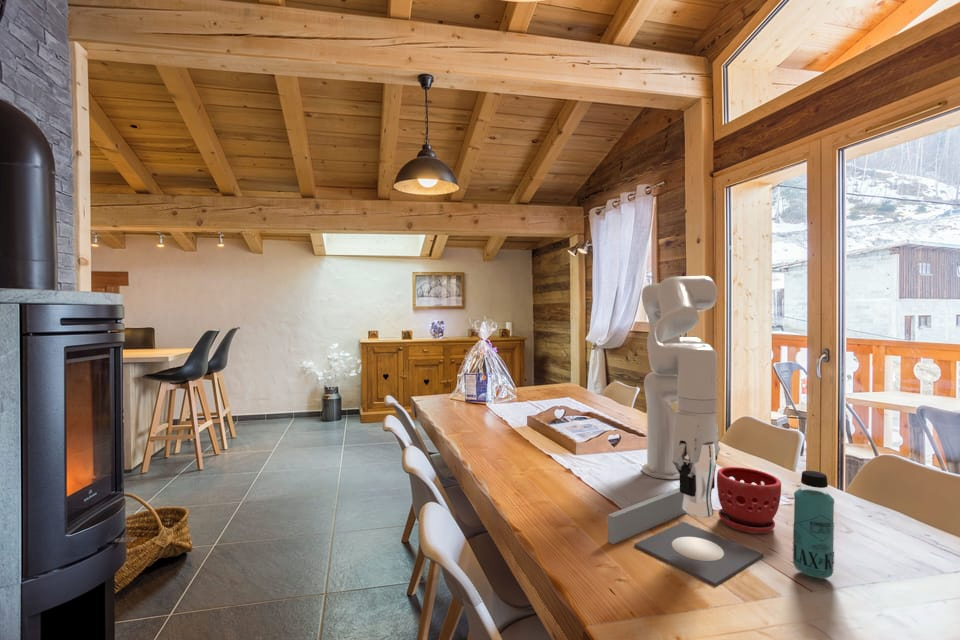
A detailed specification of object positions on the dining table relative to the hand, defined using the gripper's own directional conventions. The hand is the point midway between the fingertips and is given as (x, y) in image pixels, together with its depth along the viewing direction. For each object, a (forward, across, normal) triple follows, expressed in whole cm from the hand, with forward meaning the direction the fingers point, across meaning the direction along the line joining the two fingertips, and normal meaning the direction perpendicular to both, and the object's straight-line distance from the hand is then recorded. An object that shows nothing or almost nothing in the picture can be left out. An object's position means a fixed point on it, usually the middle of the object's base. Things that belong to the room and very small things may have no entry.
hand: (697, 489), depth 99 cm
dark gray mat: (+13, 0, 0) cm, 13 cm away
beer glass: (+5, 0, 0) cm, 5 cm away
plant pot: (+13, -21, 0) cm, 25 cm away
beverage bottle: (+13, -9, +18) cm, 24 cm away
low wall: (+13, -2, -13) cm, 19 cm away
